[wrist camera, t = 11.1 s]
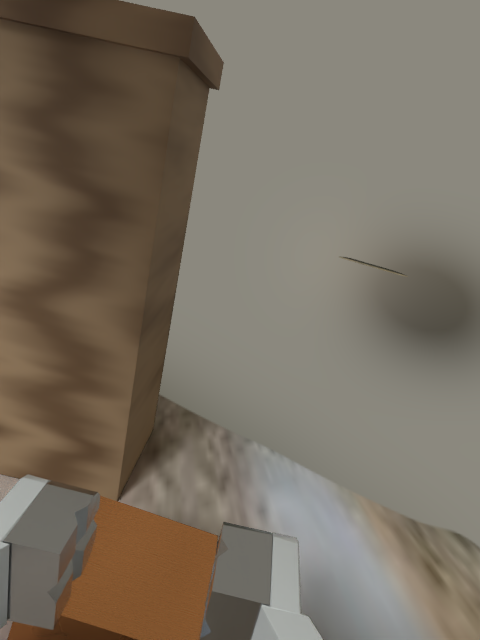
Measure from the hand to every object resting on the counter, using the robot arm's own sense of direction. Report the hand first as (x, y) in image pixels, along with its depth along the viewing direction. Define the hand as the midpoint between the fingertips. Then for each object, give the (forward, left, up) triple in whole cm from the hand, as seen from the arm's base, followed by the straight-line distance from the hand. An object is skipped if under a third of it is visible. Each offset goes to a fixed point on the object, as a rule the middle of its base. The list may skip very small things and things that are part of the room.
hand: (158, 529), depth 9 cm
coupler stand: (-9, +19, -14) cm, 25 cm away
